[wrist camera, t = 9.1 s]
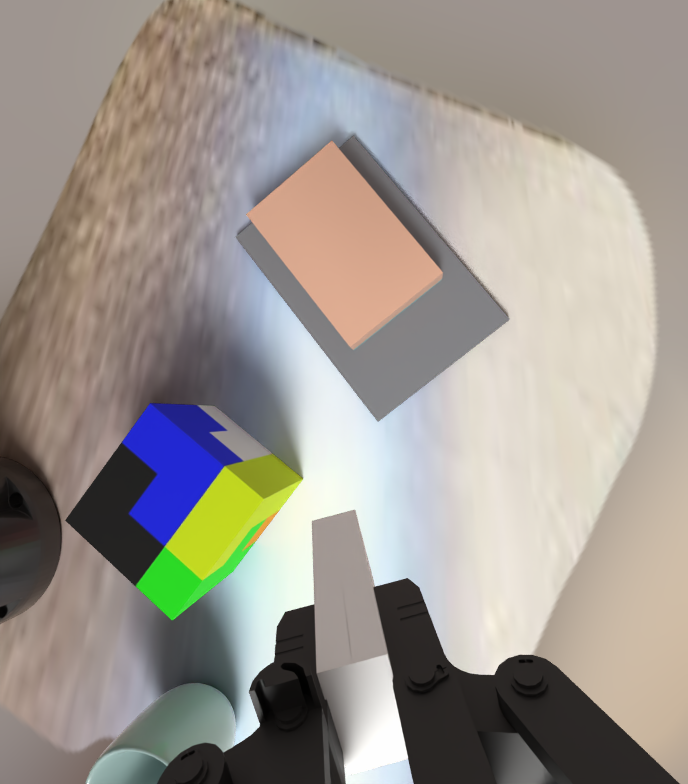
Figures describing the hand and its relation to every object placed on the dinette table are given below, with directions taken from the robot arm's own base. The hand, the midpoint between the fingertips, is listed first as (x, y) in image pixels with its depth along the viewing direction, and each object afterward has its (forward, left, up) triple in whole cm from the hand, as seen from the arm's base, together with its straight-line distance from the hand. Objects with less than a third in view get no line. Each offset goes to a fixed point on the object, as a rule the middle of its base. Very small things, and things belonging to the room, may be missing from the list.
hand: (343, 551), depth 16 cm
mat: (-4, +16, -23) cm, 28 cm away
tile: (-1, +13, -22) cm, 25 cm away
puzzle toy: (-14, -3, -23) cm, 28 cm away
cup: (-13, -22, -23) cm, 35 cm away
